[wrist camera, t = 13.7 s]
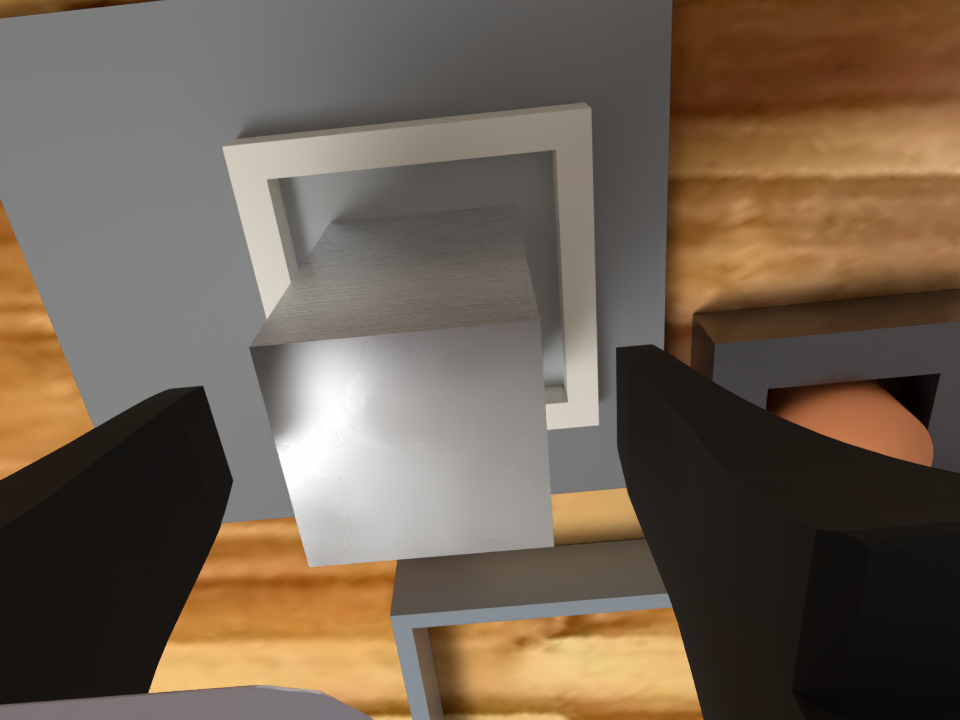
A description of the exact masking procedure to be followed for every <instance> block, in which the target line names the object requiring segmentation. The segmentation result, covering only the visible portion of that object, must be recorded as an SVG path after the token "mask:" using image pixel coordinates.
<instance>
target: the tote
mask: <svg viewBox="0 0 960 720" xmlns="http://www.w3.org/2000/svg"><path fill="white" fill-rule="evenodd" d="M668 607H672V604H671V602H670V599H669V596H668V594H667V591H666V589H665V586H664V584H663V581H662V578H661V576H660V573H659V571H658V568H657V566H656V563H655V561H654V558H653V556H652V553H651V551H650V548H649V546H648V543H647V541H646V539H634V540H623V541H611V542H599V543H587V544H576V545H564V546H554V547H544V548H532V549H520V550H508V551H496V552H484V553H472V554H460V555H448V556H435V557H423V558H411V559H399V560H397V567H396V575H395V582H394V590H393V598H392V605H391V613H390V618H391V623H392V627H393V632H394V637H395V641H396V646H397V651H398V655H399V660H400V664H401V669H402V674H403V678H404V683H405V688H406V692H407V697H408V702H409V706H410V711H411V715H412V720H444V714H443V709H442V704H441V698H440V693H439V687H438V682H437V676H436V671H435V666H434V660H433V655H432V649H431V644H430V638H429V633H428V628H427V627H435V626H447V625H460V624H472V623H484V622H496V621H509V620H521V619H533V618H545V617H558V616H570V615H582V614H594V613H607V612H619V611H631V610H643V609H656V608H668Z"/></svg>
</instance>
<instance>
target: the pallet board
mask: <svg viewBox="0 0 960 720" xmlns="http://www.w3.org/2000/svg"><path fill="white" fill-rule="evenodd" d="M671 37H672V0H162V1H153V2H144V3H136V4H127V5H118V6H109V7H100V8H91V9H82V10H73V11H64V12H55V13H46V14H37V15H28V16H19V17H10V18H1V19H0V199H1V202H2V204H3V207H4V209H5V211H6V214H7V216H8V219H9V221H10V224H11V226H12V228H13V231H14V233H15V236H16V238H17V241H18V243H19V245H20V248H21V250H22V253H23V255H24V258H25V260H26V262H27V265H28V267H29V270H30V272H31V275H32V277H33V279H34V282H35V284H36V287H37V289H38V292H39V294H40V296H41V299H42V301H43V304H44V306H45V309H46V311H47V313H48V316H49V318H50V321H51V323H52V326H53V328H54V330H55V333H56V335H57V338H58V340H59V343H60V345H61V347H62V350H63V352H64V355H65V357H66V360H67V362H68V364H69V367H70V369H71V372H72V374H73V377H74V379H75V381H76V384H77V386H78V389H79V391H80V394H81V396H82V398H83V401H84V403H85V406H86V408H87V411H88V413H89V415H90V418H91V420H92V423H93V425H94V428H96V427H98V426H99V425H101V424H103V423H104V422H106V421H108V420H110V419H111V418H113V417H115V416H117V415H118V414H120V413H122V412H123V411H125V410H127V409H129V408H131V407H132V406H134V405H136V404H138V403H140V402H142V401H143V400H145V399H147V398H149V397H151V396H153V395H155V394H158V393H160V392H162V391H165V390H167V389H172V388H183V387H193V386H204V390H205V393H206V396H207V399H208V402H209V405H210V408H211V412H212V415H213V418H214V421H215V424H216V427H217V431H218V434H219V437H220V440H221V443H222V446H223V450H224V453H225V456H226V459H227V462H228V465H229V468H230V472H231V475H232V478H233V485H232V488H231V492H230V496H229V500H228V503H227V507H226V510H225V514H224V517H223V520H222V523H228V522H240V521H251V520H263V519H274V518H286V517H295V514H294V510H293V506H292V503H291V499H290V495H289V492H288V488H287V484H286V481H285V477H284V473H283V470H282V466H281V462H280V459H279V455H278V451H277V448H276V444H275V441H274V437H273V433H272V430H271V426H270V422H269V419H268V415H267V411H266V408H265V404H264V400H263V397H262V393H261V389H260V386H259V382H258V378H257V375H256V371H255V367H254V364H253V360H252V356H251V353H250V349H249V346H250V345H251V343H252V342H253V340H254V339H255V337H256V336H257V334H258V332H259V331H260V329H261V328H262V326H263V325H264V323H265V322H266V320H267V319H268V317H269V315H270V314H271V312H272V311H273V309H274V308H275V306H276V305H277V303H278V302H279V300H280V299H281V297H282V295H283V294H284V292H285V291H286V289H287V288H288V286H289V285H290V283H291V282H292V280H293V278H294V277H295V275H296V274H297V272H298V271H299V269H300V268H301V266H302V265H303V263H304V262H305V260H306V258H307V257H308V255H309V254H310V252H311V251H312V249H313V248H314V246H315V245H316V243H317V242H318V240H319V238H320V237H321V235H322V234H323V232H324V231H325V229H326V228H327V226H328V225H329V223H330V222H338V221H348V220H358V219H368V218H378V217H389V216H399V215H409V214H419V213H429V212H439V211H450V210H460V209H470V208H480V207H490V206H500V205H511V204H514V207H515V211H516V216H517V220H518V224H519V229H520V233H521V238H522V242H523V246H524V251H525V255H526V260H527V264H528V268H529V273H530V277H531V281H532V286H533V290H534V295H535V299H536V303H537V308H538V312H539V317H540V324H541V340H542V356H543V372H544V389H545V405H546V421H547V438H548V454H549V470H550V486H551V494H561V493H572V492H584V491H595V490H607V489H618V488H627V487H626V483H625V479H624V475H623V471H622V467H621V462H620V458H619V454H618V449H617V399H616V347H626V346H637V345H647V344H653V345H655V346H657V347H658V348H660V349H662V350H664V324H665V283H666V242H667V201H668V160H669V119H670V78H671Z"/></svg>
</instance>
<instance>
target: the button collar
mask: <svg viewBox="0 0 960 720" xmlns="http://www.w3.org/2000/svg"><path fill="white" fill-rule="evenodd" d="M691 368H692V369H694V370H695V371H697V372H698V373H700V374H702V375H703V376H705V377H707V378H708V379H710V380H712V381H713V382H715V383H717V384H718V385H720V386H722V387H723V388H725V389H727V390H729V391H730V392H732V393H734V394H736V395H738V396H739V397H741V398H743V399H745V400H747V401H749V402H751V403H753V404H755V405H757V406H759V407H761V408H763V409H765V410H766V401H767V392H768V389H772V388H783V387H794V386H805V385H816V384H827V383H838V382H849V381H860V380H871V379H882V378H892V383H891V388H890V393H889V394H891V395H892V396H893V397H894V398H895V399H896V400H897V401H898V402H899V403H900V404H901V405H902V406H904V407H905V408H906V409H907V410H908V411H909V412H910V413H911V414H912V415H913V416H914V417H916V418H917V419H918V420H919V421H920V422H921V423H922V424H923V425H924V426H925V428H926V429H927V431H928V433H929V435H930V437H931V440H932V444H933V461H932V465H931V467H934V468H938V469H943V470H947V471H952V472H956V473H960V289H954V290H943V291H933V292H922V293H911V294H901V295H890V296H880V297H869V298H859V299H848V300H838V301H827V302H817V303H806V304H795V305H785V306H774V307H764V308H753V309H743V310H732V311H722V312H711V313H701V314H693V326H692V348H691Z"/></svg>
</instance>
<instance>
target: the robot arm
mask: <svg viewBox="0 0 960 720" xmlns="http://www.w3.org/2000/svg"><path fill="white" fill-rule="evenodd" d="M616 399H617V449H618V454H619V458H620V462H621V467H622V471H623V475H624V479H625V483H626V487H627V491H628V495H629V497H630V500H631V503H632V505H633V508H634V510H635V513H636V515H637V518H638V521H639V523H640V526H641V528H642V531H643V533H644V536H645V538H646V541H647V543H648V546H649V548H650V551H651V553H652V556H653V558H654V561H655V563H656V566H657V568H658V571H659V573H660V576H661V578H662V581H663V584H664V586H665V589H666V591H667V594H668V596H669V599H670V602H671V604H672V607H673V610H674V613H675V616H676V619H677V622H678V625H679V629H680V632H681V636H682V640H683V643H684V647H685V651H686V654H687V658H688V662H689V665H690V669H691V672H692V676H693V680H694V684H695V687H696V691H697V695H698V699H699V703H700V707H701V711H702V714H703V718H704V720H960V473H956V472H952V471H947V470H943V469H938V468H934V467H929V466H925V465H921V464H917V463H913V462H909V461H905V460H902V459H898V458H894V457H890V456H887V455H883V454H880V453H877V452H874V451H871V450H867V449H864V448H861V447H858V446H854V445H851V444H848V443H845V442H842V441H839V440H837V439H834V438H831V437H828V436H825V435H823V434H820V433H818V432H815V431H813V430H810V429H808V428H805V427H803V426H800V425H798V424H796V423H793V422H791V421H788V420H786V419H784V418H782V417H779V416H777V415H775V414H773V413H771V412H769V411H767V410H765V409H763V408H761V407H759V406H757V405H755V404H753V403H751V402H749V401H747V400H745V399H743V398H741V397H739V396H738V395H736V394H734V393H732V392H730V391H729V390H727V389H725V388H723V387H722V386H720V385H718V384H717V383H715V382H713V381H712V380H710V379H708V378H707V377H705V376H703V375H702V374H700V373H698V372H697V371H695V370H694V369H692V368H691V367H689V366H687V365H686V364H684V363H683V362H681V361H679V360H678V359H676V358H675V357H673V356H672V355H670V354H668V353H667V352H665V351H664V350H662V349H660V348H658V347H657V346H655V345H653V344H647V345H637V346H626V347H616ZM232 485H233V478H232V475H231V472H230V468H229V465H228V462H227V459H226V456H225V453H224V450H223V446H222V443H221V440H220V437H219V434H218V431H217V427H216V424H215V421H214V418H213V415H212V412H211V408H210V405H209V402H208V399H207V396H206V393H205V390H204V386H193V387H183V388H172V389H167V390H165V391H162V392H160V393H158V394H155V395H153V396H151V397H149V398H147V399H145V400H143V401H142V402H140V403H138V404H136V405H134V406H132V407H131V408H129V409H127V410H125V411H123V412H122V413H120V414H118V415H117V416H115V417H113V418H111V419H110V420H108V421H106V422H104V423H103V424H101V425H99V426H98V427H96V428H94V429H92V430H91V431H89V432H87V433H86V434H84V435H82V436H80V437H79V438H77V439H75V440H74V441H72V442H70V443H68V444H67V445H65V446H63V447H61V448H59V449H57V450H56V451H54V452H52V453H50V454H48V455H46V456H45V457H43V458H41V459H39V460H37V461H35V462H34V463H32V464H30V465H28V466H26V467H24V468H23V469H21V470H19V471H17V472H15V473H13V474H12V475H10V476H8V477H6V478H4V479H2V480H0V720H373V719H372V718H371V717H369V716H368V715H367V714H365V713H363V712H361V711H359V710H357V709H355V708H353V707H351V706H349V705H347V704H345V703H343V702H341V701H339V700H337V699H335V698H333V697H331V696H329V695H327V694H325V693H323V692H321V691H317V690H307V689H297V688H287V687H278V686H268V685H250V686H237V687H224V688H211V689H198V690H185V691H172V692H159V693H148V692H149V689H150V686H151V683H152V680H153V677H154V674H155V671H156V669H157V666H158V663H159V661H160V658H161V656H162V653H163V651H164V649H165V646H166V644H167V641H168V639H169V637H170V635H171V633H172V631H173V628H174V626H175V624H176V622H177V620H178V618H179V616H180V614H181V611H182V609H183V607H184V605H185V603H186V601H187V599H188V597H189V595H190V592H191V590H192V588H193V586H194V584H195V582H196V580H197V578H198V576H199V573H200V571H201V569H202V567H203V565H204V563H205V561H206V558H207V556H208V554H209V552H210V550H211V547H212V545H213V543H214V541H215V539H216V536H217V534H218V532H219V530H220V526H221V523H222V520H223V517H224V514H225V510H226V507H227V503H228V500H229V496H230V492H231V488H232Z"/></svg>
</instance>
